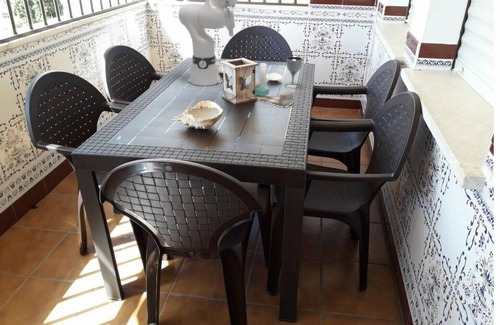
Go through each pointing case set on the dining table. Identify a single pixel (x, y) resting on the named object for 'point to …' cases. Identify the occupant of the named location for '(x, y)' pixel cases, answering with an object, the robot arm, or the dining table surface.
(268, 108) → the dining table surface
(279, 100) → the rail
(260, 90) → the white tall piece
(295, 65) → the wine glass
